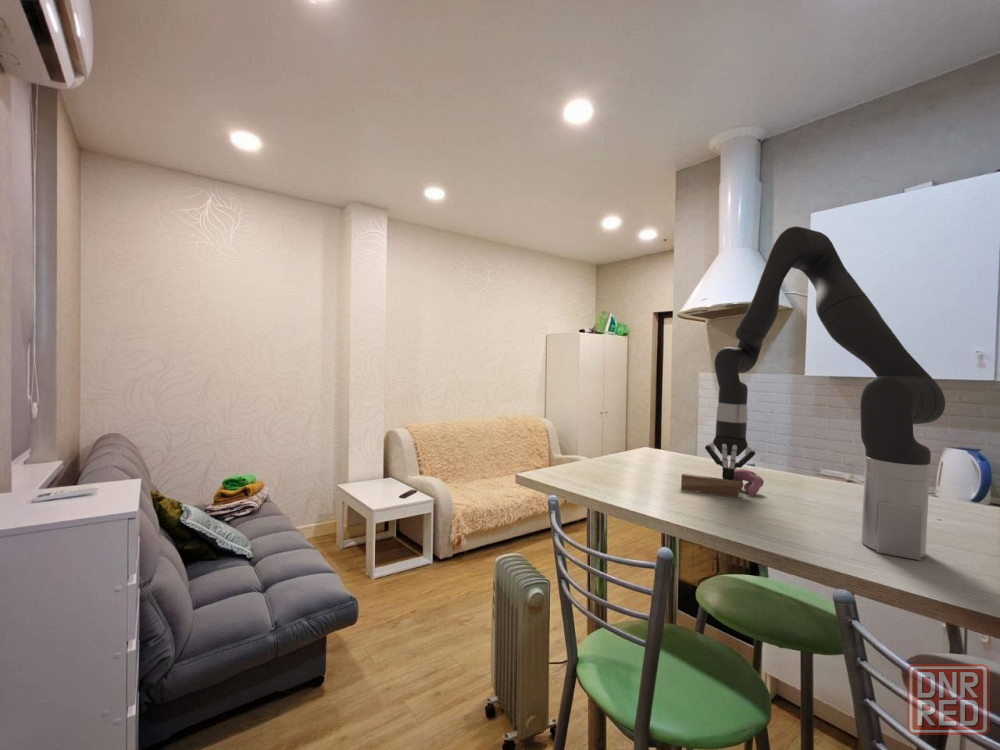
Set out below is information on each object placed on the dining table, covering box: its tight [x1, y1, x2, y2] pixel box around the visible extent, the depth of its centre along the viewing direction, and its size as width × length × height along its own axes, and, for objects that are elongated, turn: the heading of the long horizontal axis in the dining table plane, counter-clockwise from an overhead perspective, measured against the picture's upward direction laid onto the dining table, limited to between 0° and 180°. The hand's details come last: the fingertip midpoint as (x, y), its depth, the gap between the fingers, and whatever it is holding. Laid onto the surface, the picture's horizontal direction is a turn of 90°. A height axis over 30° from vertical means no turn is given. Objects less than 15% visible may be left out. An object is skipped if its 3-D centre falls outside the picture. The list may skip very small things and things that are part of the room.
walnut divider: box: [680, 472, 740, 499], centre depth 119 cm, size 2×14×4 cm, turn 59°
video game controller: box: [733, 468, 764, 497], centre depth 122 cm, size 10×5×7 cm, turn 24°
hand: (727, 480), depth 123 cm, fingers closed
